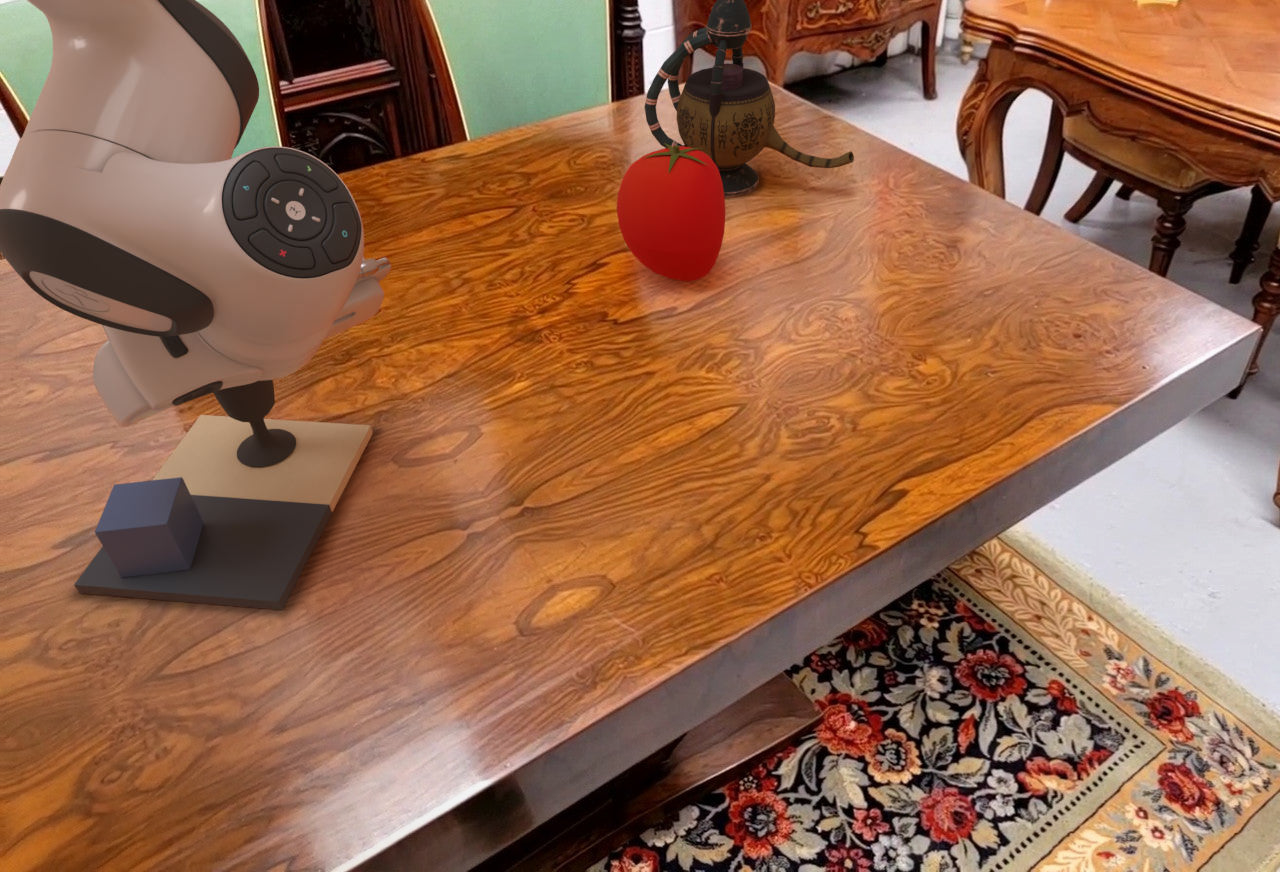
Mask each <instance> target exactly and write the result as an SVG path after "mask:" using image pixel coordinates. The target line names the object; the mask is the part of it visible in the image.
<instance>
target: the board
mask: <svg viewBox="0 0 1280 872" xmlns="http://www.w3.org/2000/svg"><path fill="white" fill-rule="evenodd" d="M264 422H265V425H266V427H267V429H283V430H286V431H288V432H290V433H291V434H293V435H294V437H295V438H296V446H295V449H294V450H293V452H292V453H291V454H290V455H289V456H288V457H287V458H286V459H284V460H283V461H281V462H279V463H276V464H274V465H271V466H267V467H250V466H246V465H244V464H242V463H241V462H240V461H239V460H238V458H237V449H238V447H239V446H240V444H241V443H242V442H243V441H244V440H245V439H246V438H248V437H249V436H251V435H253V430H252V428H251V425H250V423H249V422H241V421H238V420H235V419H233V418H231V417H230V416H229V415H227V416H226V415H212V414H211V415H209V414H200V415H199V416H198V418H197V419H196V420H195V422H194V423H193V424H192V425H191V427H190V428H189V429H188V431H187V432H186V434H185V435H184V437H183V438H182V439H181V440H180V442H179V443H178V445H177V446H176V447H175V449H174V450H173V451H172V453H171V454H170V455H169V457H168V458H167V459H166V460H165V462H164V463H163V465H162V466H161V467H160V469H159V470H158V471H157V473H156V474H155V476H154V477H153V478H152V480H161V479H170V478H179V477H182V478H183V480H184V482H185V484H186V486H187V488H188V490H189V492H190V495H191V497H192V499H193V501H194V503H195V505H196V507H197V510H198V512H199V514H200V516H201V518H202V520H203V522H204V523H203V527H202V530H201V534H200V537H199V540H198V544H197V547H196V551H195V554H194V558H193V561H192V564H191V568H190V570H183V571H175V572H166V573H158V574H149V575H141V576H133V577H124V578H121V576H120V575H119V573H118V571H117V570H116V568H115V566H114V564H113V563H112V561H111V559H110V558H109V556H108V554H107V552H106V551H105V549H104V547H103V546H102V545H101V548H100V549H99V551H98V552H97V553H96V554H95V556H94V557H93V558H92V559H91V561H90V562H89V564H88V565H87V566H86V568H85V569H84V571H82V574H81V575H80V576H79V577H78V578H77V579H76V581H75V582H74V584H73V585H74V587H75V588H76V590H77V592H78V593H79V594H85V595H97V596H109V597H110V596H111V597H123V598H132V599H133V598H134V599H146V600H158V601H167V602H181V603H194V604H206V605H215V606H230V607H240V608H253V609H265V610H275V611H277V610H278V611H283V610H284V608H285V606H286V604H287V602H288V599H289V598H290V596H291V594H292V592H293V590H294V589H295V586H296V585H297V583H298V581H299V579H300V576H301V574H302V573H303V571H304V569H305V568H306V565H307V563H308V561H309V559H310V557H311V556H312V553H313V551H314V549H315V548H316V546H317V544H318V541H320V540H319V539H321V538H320V537H321V536H322V534H323V532H324V530H325V528H326V526H327V525H328V522H329V520H330V518H331V516H332V514H333V512H334V510H335V508H336V506H337V504H338V502H339V500H340V499H341V496H342V494H343V493H344V490H345V488H346V487H347V484H348V483H349V481H350V479H351V478H352V475H353V473H354V471H355V470H356V467H357V465H358V464H359V461H360V459H361V458H362V455H363V453H364V451H365V450H366V447H367V446H368V444H369V442H370V440H371V438H372V436H373V434H374V432H373V428H372V425H370V424H358V423H357V424H356V423H341V422H325V421H309V420H294V419H293V420H291V419H290V420H289V419H277V418H276V419H275V418H264Z"/></svg>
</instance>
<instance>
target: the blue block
mask: <svg viewBox="0 0 1280 872" xmlns="http://www.w3.org/2000/svg"><path fill="white" fill-rule="evenodd" d="M203 523H204V522H203V520H202V518H201V516H200V514H199V512H198V510H197V507H196V505H195V503H194V501H193V499H192V497H191V495H190V492H189V490H188V488H187V486H186V484H185V482H184V480H183V478H182V477H179V478H170V479H161V480H153V479H151V480H142V481H135V482H125V483H117V484H113V486H112V489H111V491H110V494H109V496H108V499H107V501H106V503H105V506H104V508H103V510H102V513H101V516H100V517H99V520H98V522H97V525H96V528H95V530H94V534H95V535H96V538H97V539H98V541H99V543H100V544H101V547H102V546H103V547H104V549H105V551H106V552H107V554H108V556H109V558H110V559H111V561H112V563H113V564H114V566H115V568H116V570H117V571H118V573H119V575H120V576H121V578H124V577H133V576H141V575H149V574H158V573H166V572H175V571H183V570H190V568H191V564H192V561H193V558H194V554H195V551H196V547H197V544H198V540H199V537H200V534H201V530H202V527H203Z"/></svg>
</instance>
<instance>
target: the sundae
mask: <svg viewBox="0 0 1280 872" xmlns="http://www.w3.org/2000/svg"><path fill="white" fill-rule="evenodd" d="M274 387H275V385H274V379H273V380H264V381H256V382H254V383H250V384H246V385H241V386H235V387H230V388H225V389H221V390H218V391H216V392H214V393H212V394H213V395H214V397H215V399H216V401H217V402H218V404H219V405H220V406H221V408H222V409H223V410H224V412H225V413H226V414H227V416H229V417H231V418H233V419H235V420H238V421H241V422H249V423H250V425H251V428H252V430H253V435H251V436H249V437H248V438H246V439H245V440H244V441H243V442H242V443H241V444H240V446H239V447H238V449H237V458H238V460H239V461H240V462H241V463H242V464H244V465H246V466H250V467H267V466H271V465H274V464H276V463H279V462H281V461H283V460H284V459H286V458H287V457H288V456H289V455H290V454H291V453H292V452H293V450H294V449H295V446H296V438H295V437H294V435H293V434H291V433H290V432H288V431H286V430H283V429H267V427H266V425H265V422H264V419H265V417H267V416H268V415H269V414H270V412H271V411H272V409H273V408H274V406H275V403H276V398H275V388H274Z"/></svg>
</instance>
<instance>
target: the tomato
mask: <svg viewBox="0 0 1280 872" xmlns="http://www.w3.org/2000/svg"><path fill="white" fill-rule="evenodd" d="M664 144H665V145H666V146H667V147H668V148H665V147H663V148H661V149H658V150H654V151H652V152H649V153H647V154H644V155H642V156H641V157H639V158H638V159H637V160H635V161H634V162H633V163H631V164H630V165H629V167H628V169H627V170H626V172H625V173H624V175H623V177H622V179H621V183H620V185H619V190H618V192H617V197H616V198H617V199H616V200H617V201H616V214H617V221H618V227H619V230H620V232H621V235H622V238H623V240H624V243H625V244H626V246H627V247H628V249H629V251H630V253H631V254H632V255H633V256H634V257H635V259H636V260H637V261H638V262H640V263H641V265H642V266H644V267H645V268H647V270H649V271H651V272H652V273H654V274H656V275H658V276H660V277H663V278H666V279H670V280H675V281H682V282H693V281H694V282H695V281H698V280H700V279H703V278H705V277H706V276H708V275H709V274H710V273H711V271H712V270H713V268H714V267H715V265H716V262H717V260H718V257H719V254H720V252H721V249H722V245H723V240H724V235H725V228H726V227H725V225H726V224H725V223H726V201H725V198H726V197H724V190H723V184H722V179H721V176H720V173H719V170H718V168H717V166H716V165H715V163H714V162H713V161H712V159H711V158H710V157H709V156H708V155H707V154H705V153H704V152H702V151H699V150H696V149H701V148H690V147H684V146H678V145H675V146H674V147H672V146H670V145H668V144H666V143H664Z"/></svg>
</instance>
